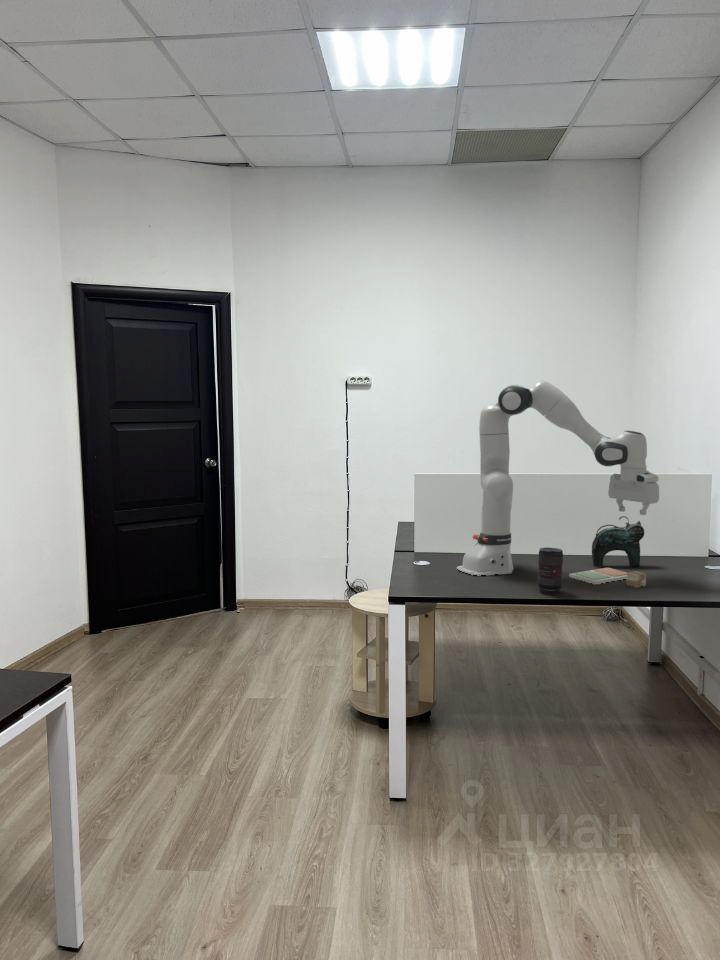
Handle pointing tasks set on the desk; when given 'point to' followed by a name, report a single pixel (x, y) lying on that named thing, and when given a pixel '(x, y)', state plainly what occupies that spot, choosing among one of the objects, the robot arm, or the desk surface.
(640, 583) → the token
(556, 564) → the camera lens
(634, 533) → the ceramic cat
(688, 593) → the desk surface
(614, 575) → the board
